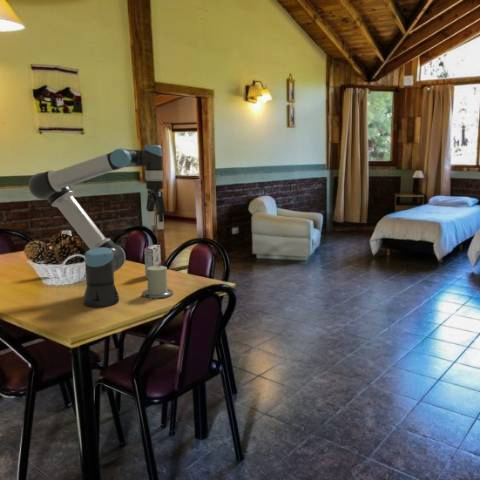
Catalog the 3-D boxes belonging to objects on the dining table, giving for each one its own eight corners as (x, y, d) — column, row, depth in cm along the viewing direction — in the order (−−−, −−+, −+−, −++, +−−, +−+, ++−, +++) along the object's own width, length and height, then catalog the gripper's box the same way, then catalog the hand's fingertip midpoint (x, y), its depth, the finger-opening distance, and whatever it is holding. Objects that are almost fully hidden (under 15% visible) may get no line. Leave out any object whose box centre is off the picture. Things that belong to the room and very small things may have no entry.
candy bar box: (153, 273, 258) (152, 244, 256) (161, 274, 257) (160, 244, 255) (144, 278, 248) (143, 248, 245) (153, 279, 247) (152, 248, 244)
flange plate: (152, 300, 208) (152, 297, 208) (136, 294, 218) (136, 291, 218) (178, 294, 217) (178, 292, 217) (162, 288, 227) (162, 286, 227)
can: (169, 289, 221) (169, 264, 219) (164, 295, 212) (163, 269, 210) (151, 289, 222) (150, 264, 220) (145, 294, 213) (144, 269, 211)
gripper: (171, 181, 200) (173, 230, 203) (154, 179, 221) (155, 223, 225) (154, 181, 196) (156, 231, 200) (138, 179, 218) (140, 224, 222)
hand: (155, 227), depth 212 cm, fingers open, 13 cm apart
